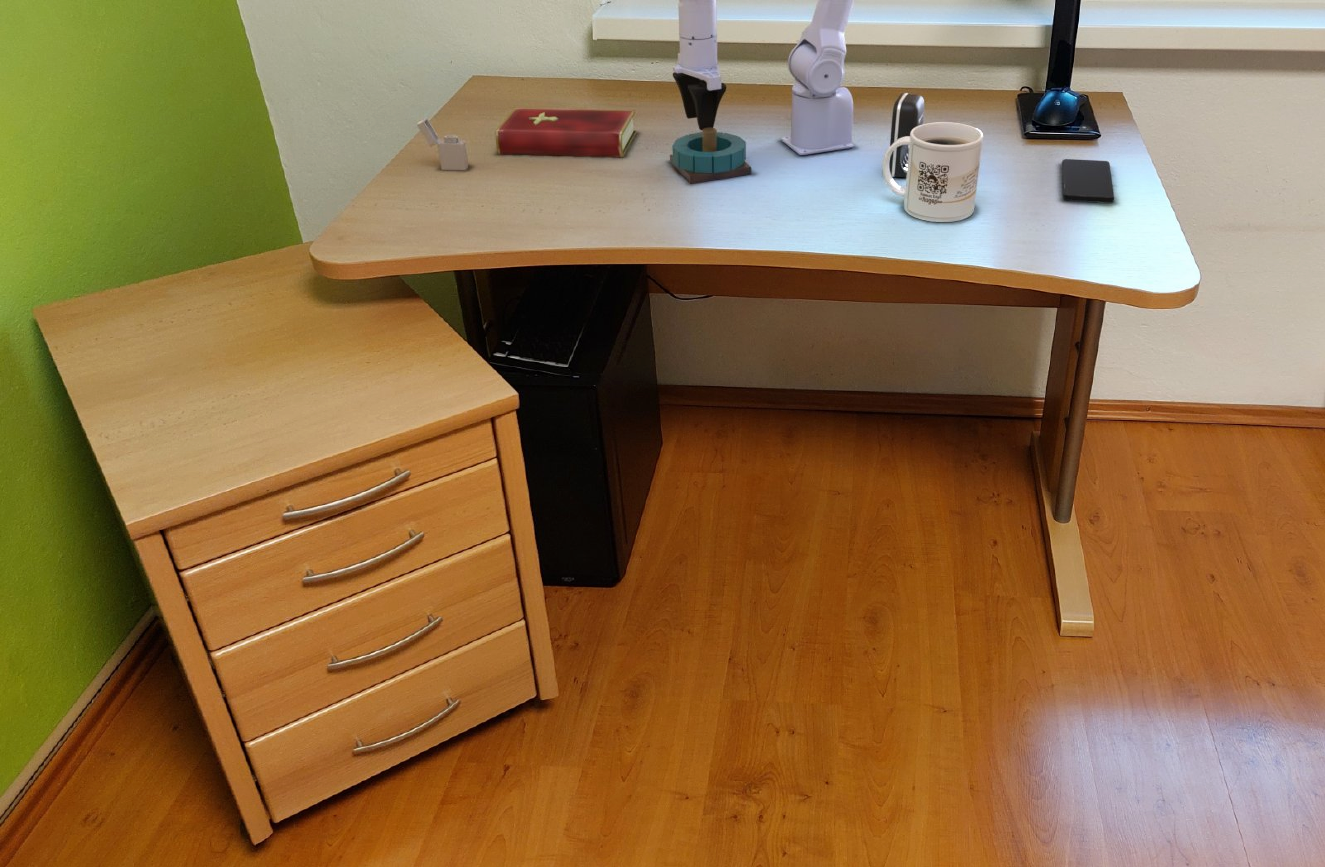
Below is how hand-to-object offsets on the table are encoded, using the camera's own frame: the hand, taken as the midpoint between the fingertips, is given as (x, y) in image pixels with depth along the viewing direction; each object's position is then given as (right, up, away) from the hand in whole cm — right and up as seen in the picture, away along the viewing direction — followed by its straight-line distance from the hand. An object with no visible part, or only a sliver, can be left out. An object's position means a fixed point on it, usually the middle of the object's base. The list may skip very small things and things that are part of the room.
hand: (699, 123), depth 179 cm
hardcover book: (-22, -1, +11) cm, 25 cm away
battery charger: (+31, -9, -4) cm, 33 cm away
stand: (+2, -7, 0) cm, 7 cm away
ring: (+1, -6, -1) cm, 6 cm away
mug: (+33, -17, -16) cm, 40 cm away
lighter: (-41, -6, +4) cm, 41 cm away
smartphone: (+57, -12, -11) cm, 59 cm away
